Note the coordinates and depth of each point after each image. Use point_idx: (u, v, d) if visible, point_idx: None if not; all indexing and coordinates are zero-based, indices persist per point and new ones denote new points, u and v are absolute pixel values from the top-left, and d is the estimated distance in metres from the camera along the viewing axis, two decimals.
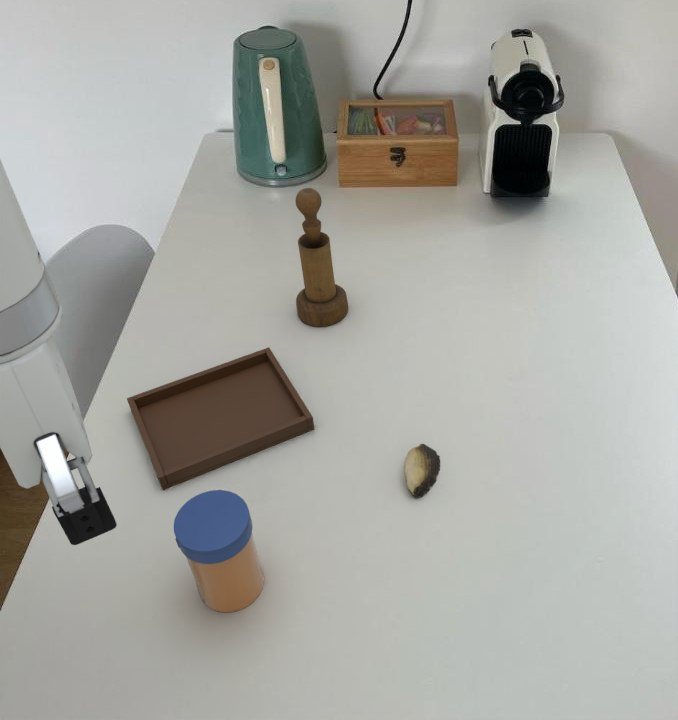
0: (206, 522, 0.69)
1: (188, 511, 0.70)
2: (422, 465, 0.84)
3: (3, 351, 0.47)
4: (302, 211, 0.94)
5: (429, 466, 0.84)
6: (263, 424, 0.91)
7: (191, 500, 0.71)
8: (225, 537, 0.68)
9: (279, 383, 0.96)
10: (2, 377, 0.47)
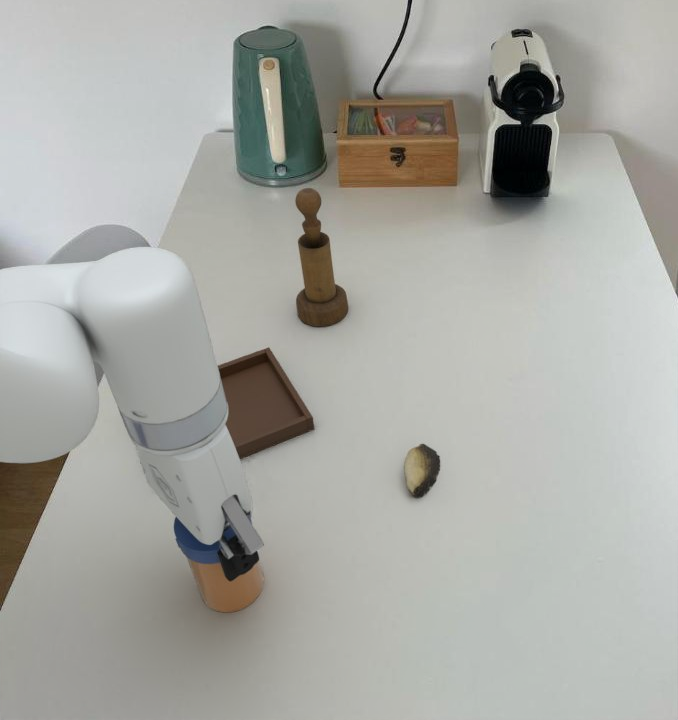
0: None
1: None
2: (422, 465, 0.84)
3: (202, 437, 0.58)
4: (302, 211, 0.94)
5: (429, 466, 0.84)
6: (263, 424, 0.91)
7: None
8: (225, 537, 0.68)
9: (279, 383, 0.96)
10: (204, 457, 0.58)
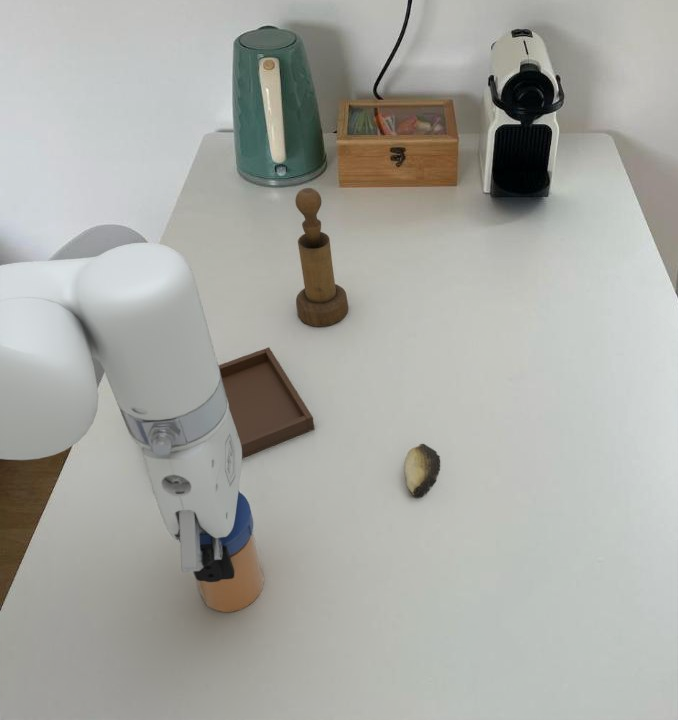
0: None
1: None
2: (422, 465, 0.84)
3: None
4: (302, 211, 0.94)
5: (429, 466, 0.84)
6: (263, 424, 0.91)
7: None
8: None
9: (279, 383, 0.96)
10: None
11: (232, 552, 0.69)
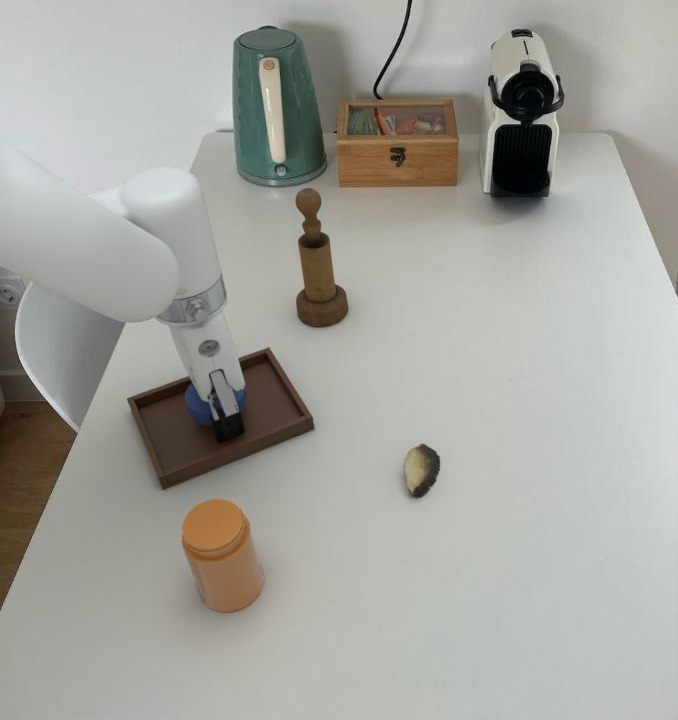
0: None
1: None
2: (422, 465, 0.84)
3: None
4: (302, 211, 0.94)
5: (429, 466, 0.84)
6: (263, 424, 0.91)
7: None
8: None
9: (279, 383, 0.96)
10: None
11: None
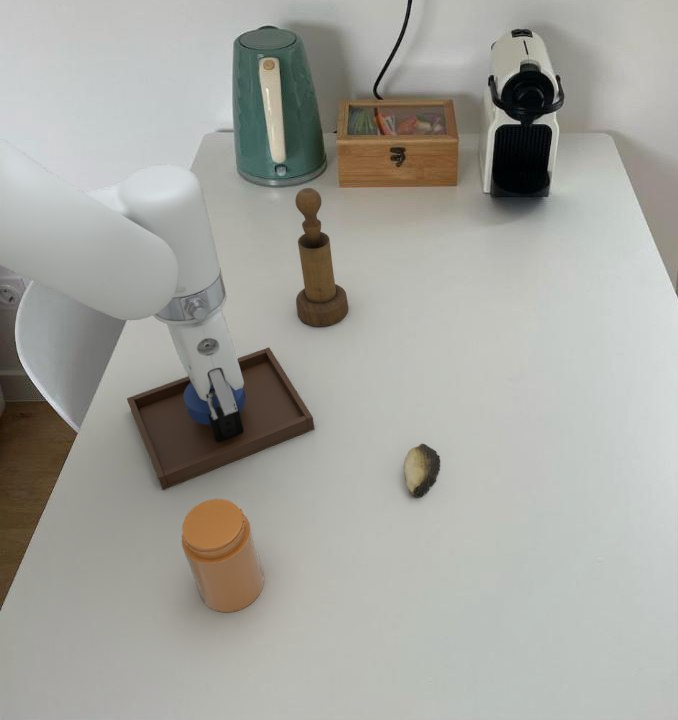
0: None
1: None
2: (422, 465, 0.84)
3: None
4: (302, 211, 0.94)
5: (429, 466, 0.84)
6: (263, 424, 0.91)
7: None
8: None
9: (279, 383, 0.96)
10: None
11: None
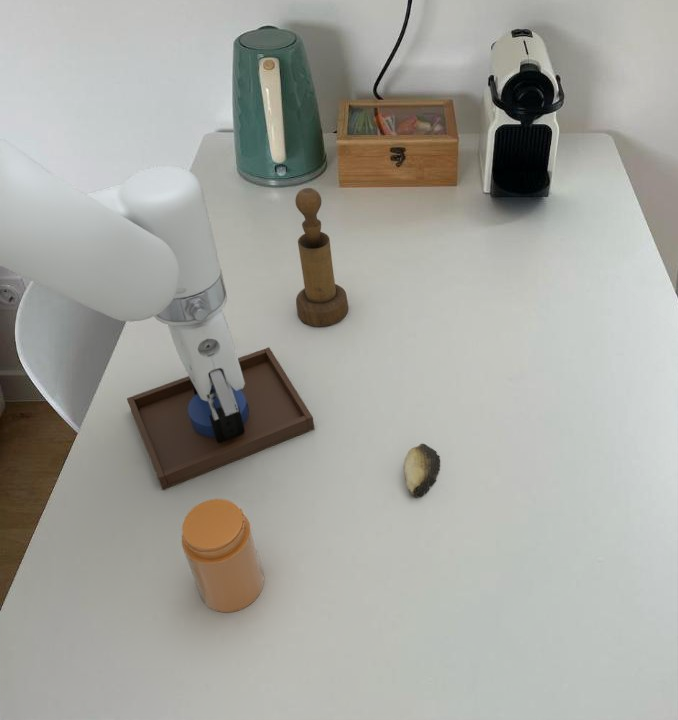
0: None
1: None
2: (422, 465, 0.84)
3: None
4: (302, 211, 0.94)
5: (429, 466, 0.84)
6: (263, 424, 0.91)
7: None
8: None
9: (279, 383, 0.96)
10: None
11: None
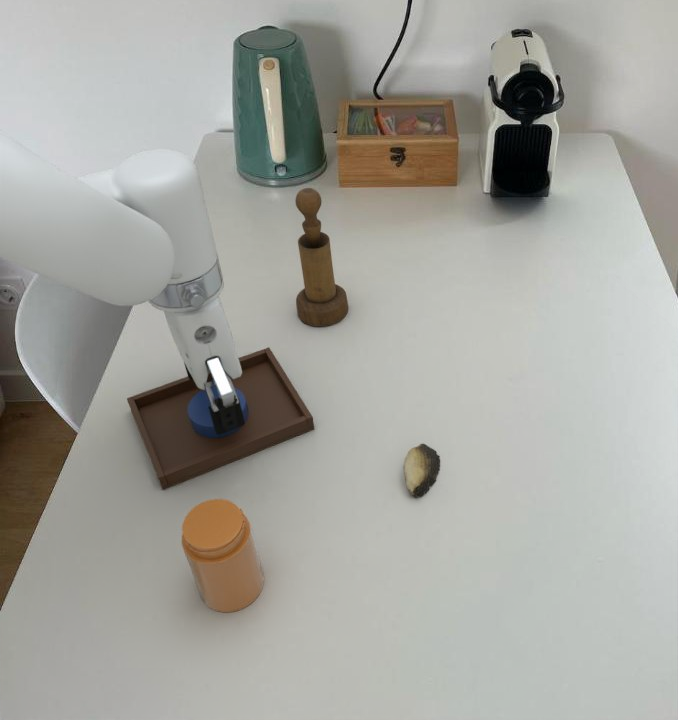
0: None
1: None
2: (422, 465, 0.84)
3: None
4: (302, 211, 0.94)
5: (429, 466, 0.84)
6: (263, 424, 0.91)
7: None
8: None
9: (279, 383, 0.96)
10: None
11: None
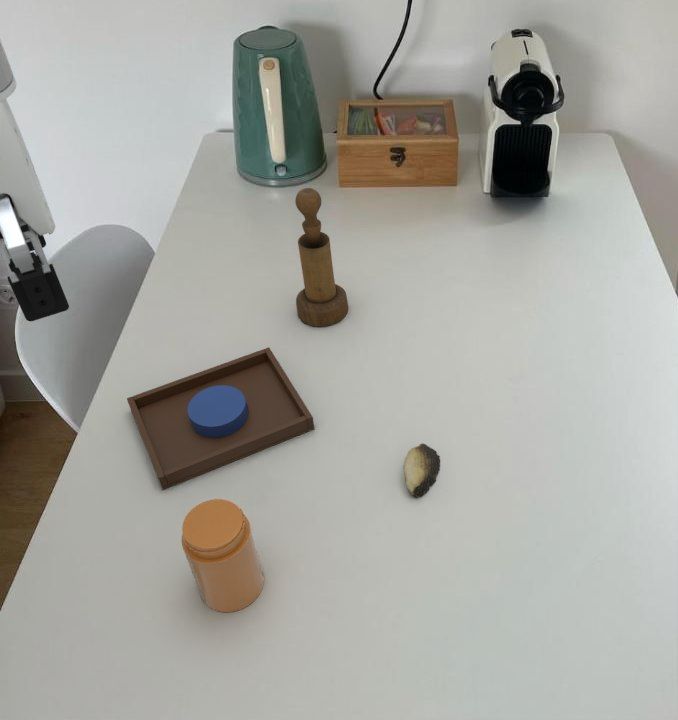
0: (220, 404, 0.91)
1: (230, 414, 0.90)
2: (422, 465, 0.84)
3: None
4: (302, 211, 0.94)
5: (429, 466, 0.84)
6: (263, 424, 0.91)
7: (225, 422, 0.89)
8: (211, 391, 0.92)
9: (279, 383, 0.96)
10: None
11: (241, 425, 0.90)
